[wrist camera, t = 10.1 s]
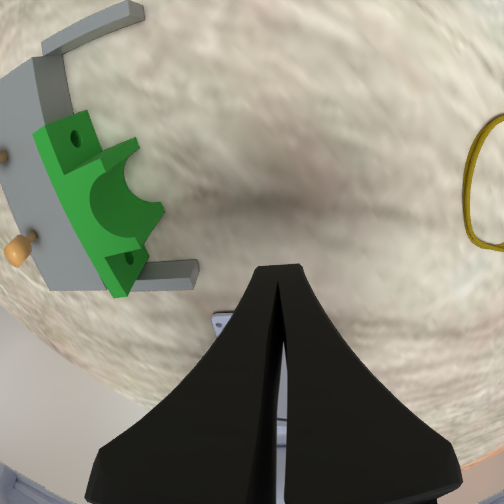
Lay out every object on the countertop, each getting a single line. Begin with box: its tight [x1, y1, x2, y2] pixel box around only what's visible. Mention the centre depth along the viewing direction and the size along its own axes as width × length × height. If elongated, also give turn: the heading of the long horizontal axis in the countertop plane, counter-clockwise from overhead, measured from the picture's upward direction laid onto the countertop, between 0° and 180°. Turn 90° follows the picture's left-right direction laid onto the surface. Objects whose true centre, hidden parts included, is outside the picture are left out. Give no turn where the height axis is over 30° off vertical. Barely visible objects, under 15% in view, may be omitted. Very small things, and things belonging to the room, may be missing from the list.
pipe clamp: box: [32, 110, 165, 298], centre depth 16 cm, size 11×4×5 cm, turn 15°
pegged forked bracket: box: [0, 0, 199, 292], centre depth 15 cm, size 18×12×6 cm, turn 7°
